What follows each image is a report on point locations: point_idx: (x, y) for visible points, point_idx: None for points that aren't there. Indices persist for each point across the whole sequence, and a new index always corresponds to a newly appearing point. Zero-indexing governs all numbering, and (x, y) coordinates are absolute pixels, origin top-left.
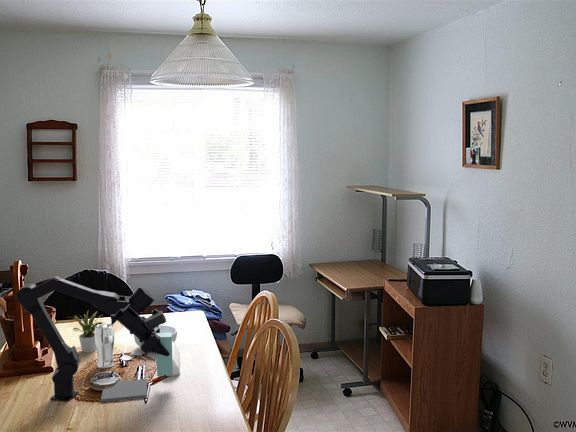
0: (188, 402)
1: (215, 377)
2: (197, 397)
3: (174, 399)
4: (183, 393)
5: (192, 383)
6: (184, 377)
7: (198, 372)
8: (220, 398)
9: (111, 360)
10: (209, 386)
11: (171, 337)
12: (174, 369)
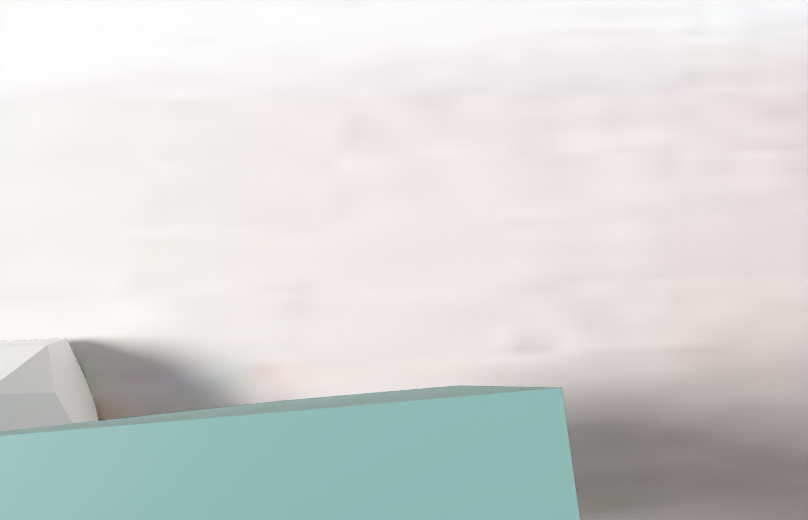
0: (733, 242)
1: (226, 41)
2: (634, 173)
3: (663, 362)
4: (537, 289)
5: (323, 220)
6: (167, 294)
7: (77, 176)
8: (666, 6)
9: None
10: (413, 85)
11: (554, 408)
12: (68, 387)
